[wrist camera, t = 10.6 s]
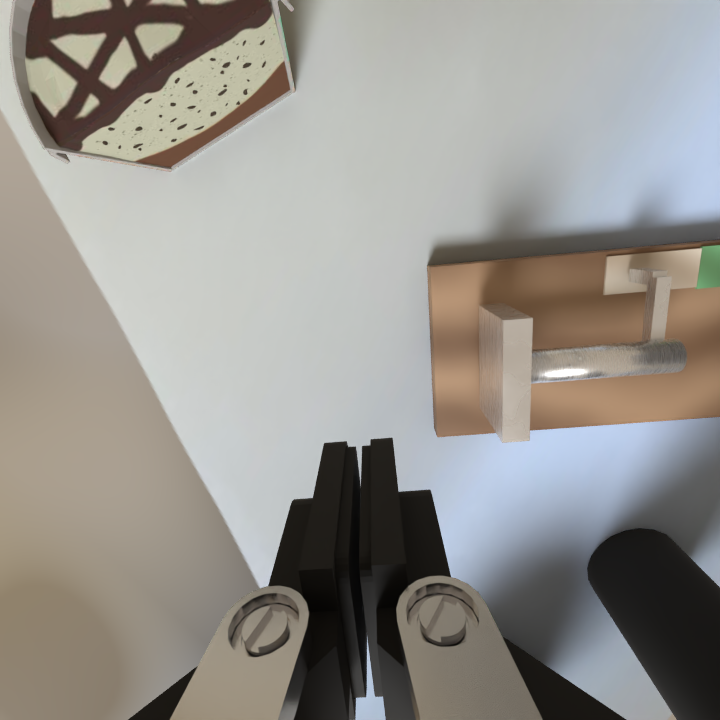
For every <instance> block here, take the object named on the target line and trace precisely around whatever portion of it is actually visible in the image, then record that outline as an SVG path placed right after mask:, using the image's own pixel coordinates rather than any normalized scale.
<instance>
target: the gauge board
mask: <svg viewBox="0 0 720 720" xmlns="http://www.w3.org/2000/svg"><path fill="white" fill-rule="evenodd" d="M633 268H651V269H659V270H668V272H667V276H672V280H671V288H670V297H669V305H668V313H667V322H666V330H665V338H664V339H672V338H675V339H678V340H680V341H681V342H682V343H683V345H684V347H685V349H686V352H687V362H686V365H685V367H684V369H683V370H682V371H680V372H676V373H663V374H650V375H637V376H624V377H611V378H598V379H585V380H573V381H560V382H547V383H534V384H531V404H530V430H543V429H557V428H571V427H585V426H598V425H612V424H626V423H640V422H654V421H668V420H681V419H695V418H709V417H720V240H709V241H698V242H687V243H676V244H665V245H654V246H642V247H631V248H620V249H609V250H598V251H587V252H576V253H564V254H553V255H542V256H531V257H520V258H509V259H497V260H486V261H475V262H464V263H453V264H442V265H430V266H427V272H428V295H429V319H430V342H431V365H432V388H433V412H434V429H435V432H436V435H437V437H446V436H460V435H474V434H488V433H496V432H495V430H494V429H493V427H492V426H491V424H490V423H489V421H488V420H487V418H486V417H485V415H484V413H483V412H482V410H481V409H480V383H479V305H485V304H497V303H504V304H506V305H508V306H510V307H512V308H514V309H516V310H518V311H520V312H522V313H524V314H526V315H528V316H530V317H532V318H533V333H532V350H535V349H548V348H560V347H573V346H585V345H598V344H610V343H623V342H635V341H641V340H642V330H643V320H644V311H645V301H646V292H647V285H644V284H638V283H633V282H629V273H630V269H633Z"/></svg>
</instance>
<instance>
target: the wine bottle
mask: <svg viewBox="0 0 720 720" xmlns="http://www.w3.org/2000/svg"><path fill="white" fill-rule="evenodd" d="M588 580H589V582H590V584H591V585H592V587H593V589H594V591H595V592H596V594H597V596H598V597H599V599H600V600H601V602H602V603H603V605H604V606H605V608H606V610H607V611H608V613H609V614H610V616H611V617H612V619H613V621H614V622H615V624H616V625H617V627H618V628H619V630H620V632H621V633H622V635H623V636H624V638H625V639H626V641H627V642H628V644H629V646H630V647H631V649H632V650H633V652H634V653H635V655H636V657H637V658H638V660H639V661H640V663H641V664H642V666H643V668H644V669H645V671H646V672H647V674H648V675H649V677H650V678H651V680H652V682H653V683H654V685H655V686H656V688H657V689H658V691H659V693H660V694H661V696H662V697H663V699H664V700H665V702H666V704H667V705H668V707H669V708H670V710H671V711H672V713H673V714H674V716H675V717H676V719H677V720H720V587H719V586H718V585H717V584H716V583H715V582H714V581H713V580H712V579H711V578H710V577H709V576H708V575H707V574H706V573H705V572H704V571H703V570H702V569H701V568H700V567H699V566H698V565H697V564H696V563H695V562H694V561H693V560H692V559H691V558H690V557H689V556H688V555H687V554H686V553H685V552H684V551H683V550H682V549H681V548H680V547H679V546H678V545H677V544H676V543H675V542H674V541H673V540H671V539H670V538H669V537H668V536H667V535H665V534H663V533H660V532H658V531H656V530H650V529H634V530H628V531H624V532H621V533H619V534H617V535H614V536H612V537H610V538H609V539H608V540H606V541H605V542H604V543H602V544H601V545H600V546H599V547H598V548H597V550H596V551H595V552H594V554H593V555H592V556H591V559H590V562H589V565H588Z"/></svg>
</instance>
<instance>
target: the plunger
mask: <svg viewBox="0 0 720 720" xmlns="http://www.w3.org/2000/svg"><path fill="white" fill-rule="evenodd" d="M667 272H668V270H659V269H651V268H633V269H630V273H629V282H633V283H638V284H644V285H647V292H646V301H645V311H644V320H643V330H642V340H641V341H635V342H623V343H610V344H598V345H585V346H573V347H560V348H548V349H535V350H532V333H533V318H532V317H530V316H528V315H526V314H524V313H522V312H520V311H518V310H516V309H514V308H512V307H510V306H508V305H506V304H504V303H497V304H485V305H479V383H480V409H481V410H482V412H483V413H484V415H485V417H486V418H487V420H488V421H489V423H490V424H491V426H492V427H493V429H494V430H495V432H496V433H497V435H498V437H499V438H500V440H501V441H502V443H505V442H519V441H529V440H530V404H531V384H534V383H547V382H560V381H573V380H585V379H598V378H611V377H624V376H637V375H650V374H663V373H676V372H680V371H682V370H683V369H684V367H685V365H686V362H687V352H686V349H685V347H684V345H683V343H682V342H681V341H680V340H678V339H675V338H672V339H664V338H665V330H666V322H667V313H668V305H669V297H670V288H671V280H672V276H667Z"/></svg>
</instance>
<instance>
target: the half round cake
mask: <svg viewBox="0 0 720 720" xmlns="http://www.w3.org/2000/svg"><path fill="white" fill-rule="evenodd" d="M278 1H279V0H13V2H12V9H11V18H10V27H9V38H10V58H11V64H12V70H13V77H14V82H15V85H16V89H17V92H18V95H19V99H20V102H21V105H22V108H23V110H24V112H25V114H26V117H27V119H28V121H29V124H30V126H31V128H32V130H33V132H34V133H35V135H36V137H37V139H38V140H39V142H40V144H41V145H42V147H43V149H45V150H47V151H48V152H49V154H50V155H51V156H53V157H55V158H57V159H59V160H61V161H63V162H65V163H67V164H68V163H69V162H70V161H69V159H68V157H67V155H66V154H69V155H74V156H80V157H86V158H92V159H98V160H104V161H110V162H116V163H122V164H128V165H134V166H139V167H145V168H151V169H157V170H163V171H169V172H171V171H173V170H174V169H176V168H177V167H179V166H180V165H182V164H183V163H185V162H187V161H188V160H190V159H191V158H193V157H194V156H196V155H197V154H199V153H201V152H202V151H204V150H205V149H207V148H208V147H210V146H211V145H213V144H215V143H216V142H218V141H219V140H221V139H222V138H224V137H225V136H227V135H229V134H230V133H232V132H233V131H235V130H236V129H238V128H239V127H241V126H242V125H244V124H246V123H247V122H249V121H250V120H252V119H253V118H255V117H256V116H258V115H260V114H261V113H263V112H264V111H266V110H267V109H269V108H270V107H272V106H274V105H275V104H277V103H278V102H280V101H281V100H283V99H284V98H286V97H288V96H289V95H291V94H292V93H294V92H295V87H294V82H293V77H292V72H291V67H290V62H289V57H288V52H287V47H286V42H285V37H284V32H283V27H282V22H281V17H280V11H279V6H278ZM281 1H282V2H283V3H284V4H285V6H286V7H287V8H288V9H289V10H290V11H291V12H292V11H293V10H294V8H293V6H292V4H291V3H290V1H289V0H281Z"/></svg>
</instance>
